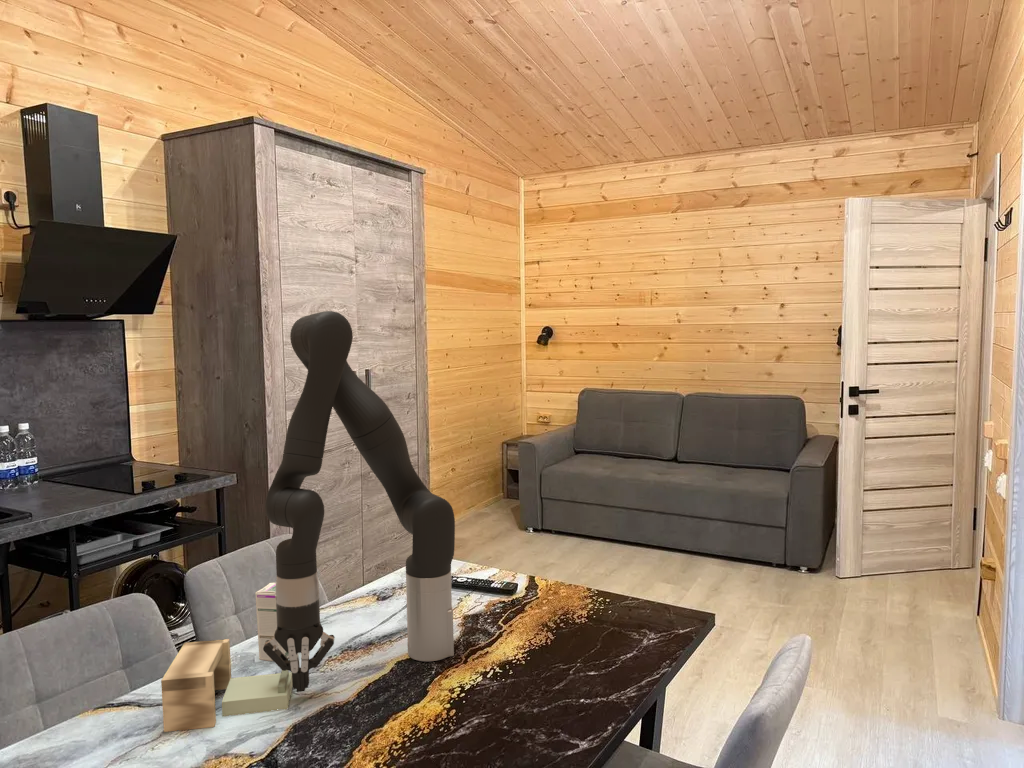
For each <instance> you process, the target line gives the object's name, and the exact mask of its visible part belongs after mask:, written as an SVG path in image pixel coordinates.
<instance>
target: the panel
mask: <svg viewBox="0 0 1024 768" xmlns="http://www.w3.org/2000/svg"><path fill="white" fill-rule="evenodd" d="M292 690H293V686H292V672H291V671H289V670H286V671H283V670H281V672H279V673H269V674H261V675H260V674H259V675H250V676H239V677H231V679H230V682H229V684H228V687H227V689H225V692H224V695H223V698H222V701H221V716H222V717H229V715H231V716H239V715H238V714H240V715H246V714H245V713H249V714H255V713H254V712H258V713H264V712H263V711H267V712H272V711H271V710H276V711H278V710H277V709H285V710H288V709H289V706H288V705H290V701H289V700H290V699H291V696H290V695H292ZM287 708H288V709H287Z"/></svg>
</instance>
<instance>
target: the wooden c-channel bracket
mask: <svg viewBox="0 0 1024 768" xmlns="http://www.w3.org/2000/svg"><path fill="white" fill-rule="evenodd" d="M230 643H231V641H230V638H226V639H214V640H213V639H212V640H200V641H191V642H190V641H187V642H184V643H183V645H182V646H181V648H180V650H179V651H178V653H177V655H175V658H174V659H173V661H172V662H171V664H170V665H169V667H168V669H167V671H166V672H165V674H164V675H163V677H162V679H161V680H160V682H161V683H160V684H161V699H162V700H161V701H162V702H161V703H162V719H163V733H167V732H168V733H169V732H177V730H179V731H188V729H189V730H198V729H207V728H215V726H216V724H217V716H216V714H217V713H216V712H217V711H216V696H215V694H216V693H215V691H219V690H220V691H221V690H226V689H227V687H228V684H229V682H230V679H231V678H232V662H231V645H230Z"/></svg>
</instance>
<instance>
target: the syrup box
mask: <svg viewBox="0 0 1024 768" xmlns="http://www.w3.org/2000/svg"><path fill="white" fill-rule="evenodd" d="M254 594H255V608H256V610H255V611H256V623H257V625H256V626H257V643H258V657H259V660H261V661H269V662H274V661H273V660H272V659H271V658H270V657H269V656H268V655H267V654H266V653H265V652H264V651H263V647H264V644H265V642H266V641H267V640H270V639H272V638H273V637H274V634H275V631H276V629H277V614H276V599H275V594H276V582H269V583H268V584H267V585H265V586H264V587H262V588H261V589H259V590H257V591H256V592H255V593H254ZM277 643H278V642H277ZM278 649H279V650H280V651H281V652H282V653H283V654H284V655H285V656H286V657H287V658H288V659H289V653H287V652H286V651H285V650H284V649H283V648H282V647H281V645H280V644H279V643H278Z"/></svg>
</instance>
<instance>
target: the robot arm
mask: <svg viewBox="0 0 1024 768" xmlns="http://www.w3.org/2000/svg"><path fill="white" fill-rule="evenodd" d="M289 336H290V337H289V338H290V344H291V347H292V350H293V351H294V353H295V355H296V357H297V358H298V359H299V361H300V362H301V364H303V366H304V367H305V368H306V370H307V375H306V378H305V383H304V387H303V389H302V392H301V395H300V397H299V399H298V401H297V404H296V405H295V408H294V410H293V412H292V414H291V417H290V420H289V423H288V426H287V431H286V437H285V441H284V447H283V453H282V458H281V463H280V465H279V467H278V468H277V471H276V473H275V476H274V478H273V480H272V482H271V484H270V486H269V489H268V491H267V493H266V497H265V502H264V511H265V515H266V517H267V519H268V521H269V522H270V523H271V524H272V525H275V526H279V527H285V528H290V529H292V535H291V537H290V538H287V539H284V540H282V541H281V542H279V543H278V545H276V549H275V567H276V568H275V571H276V580H275V583H276V594H275V599H276V614H277V629H276V631H275V634H274V637H273V638H272V639H270V640H267V641H266V642H265V644H264V647H263V651H264V652H265V653H266V654H267V655H268V656H269V657H270V658H271V659H272V660H273V661H272V662H274V663H275V664H276V666H278V668H280V670H281V671H282V670H283V671H286V670H289V672H292V690H296V693H301V692H303V693H304V692H306V689H308V688H309V685H310V670H312V669H316V668H317V667H318V666H319V665H320V663H321V662H322V660H323V659H324V658H325V656H327V654H328V653H329V651H330V650H331V649H332V647H333V646H334V644H335V638H336V637H335V635H334V634H327V633H326V632H324V626H322V624H321V609H320V583H319V575H318V566H317V562H318V561H317V548H318V543H319V540H320V535H321V532H322V526H323V522H324V517H325V505H324V501H323V499H322V497H321V495H320V494H319V493H318V492H316V491H315V490H312V489H307V488H301V486H302V485H303V482H304V481H305V478H307V477H312V476H315V475H318V474H319V473H320V471H321V469H322V465H323V458H324V453H325V447H326V441H327V434H328V428H329V423H330V419H331V415H332V409H333V410H334V412H335V413H336V415H337V416H338V418H339V420H340V421H341V423H342V425H343V426H344V428H345V429H346V432H347V433H348V435H349V437H350V438H351V441H352V442H353V444H354V445H355V447H356V448H357V450H358V451H359V453H360V455H361V456H362V458H363V459H364V460H365V462H366V464H367V466H369V468H370V469H371V471H372V473H373V474H374V475H375V477H376V478H377V480H378V481H379V482H380V484H381V485H382V487H383V489H384V490H385V492H386V494H387V497H388V499H389V500H390V502H391V503H390V504H391V505H392V507H393V509H394V512H395V513H396V515H397V519H398V520H399V522H400V524H401V526H402V527H403V529H404V530H405V531H407V532H408V533H409V534H411V535H412V547H411V548H412V549H411V550H412V551H411V552H412V553H411V554H410V555H408V556H407V558H406V560H405V583H406V584H405V585H406V587H405V590H406V621H407V622H406V623H407V624H406V626H407V629H406V630H407V654H408V657H409V658H411V659H412V660H416V661H419V662H434V661H440V660H444V659H446V658H448V657H454V656H455V649H454V648H455V645H454V641H455V640H454V638H455V637H454V610H453V606H452V605H453V604H452V602H453V601H452V596H453V595H452V562H453V559H454V556H455V548H456V547H455V543H456V542H455V540H456V538H455V535H456V521H455V520H456V519H455V512H454V509H453V506H452V505H451V503H450V502H449V501H448V500H446V499H445V498H443V497H441V496H439V495H437V494H434V493H433V492H432V491H430V490H429V489H428V488H427V486H426V485H425V483H424V482H423V480H422V479H421V478H420V476H419V475H418V473H417V472H416V470H415V467H414V466H413V465H412V461H411V458H410V454H409V449H408V445H407V441H406V438H405V434H404V433H403V430H402V428H401V426H400V425H399V422H398V421H397V419H396V417H395V416H394V414H393V412H392V410H391V409H390V407H389V406H388V405H387V404H386V402H385V401H384V400H383V399H382V398H381V397H380V396H379V395H378V394H377V393H376V392H375V391H374V390H373V389H372V388H370V387H369V386H368V385H367V384H366V383H365V382H364V381H363V380H362V379H361V378H360V377H359V376H358V375H357V374H356V373H355V372H354V371H353V369H352V367H351V366H350V365H349V363H348V357H349V354H350V351H351V348H352V344H353V328H352V326H351V324H350V322H349V320H348V319H347V317H345V316H344V315H343V314H342V313H341V312H337V311H332V310H325V311H320V312H316V313H311V314H308V315H304V316H302V317H300V318H299V319H297V320H296V321H294V323H293V324H292V327H291V329H290V334H289ZM319 640H320V646H319V648H318V650H317V651H316V652H315V654H314V655H313V656H312V657H311V658H310V653H311V652H312V650H313V649H314V648H315V646H316V645H317V644H318V642H319ZM277 642H278V643H279V644H280V645H281V647H282V648H283V649H284V650H285V651H286V652H287V653H289V657H288V658H287V657H286V656H285V655H284V654H283V653H282V652H281V651H280V650H279V649H278V643H277ZM299 653H300V654H299ZM299 655H300V657H301V658H300V657H299Z"/></svg>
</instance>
